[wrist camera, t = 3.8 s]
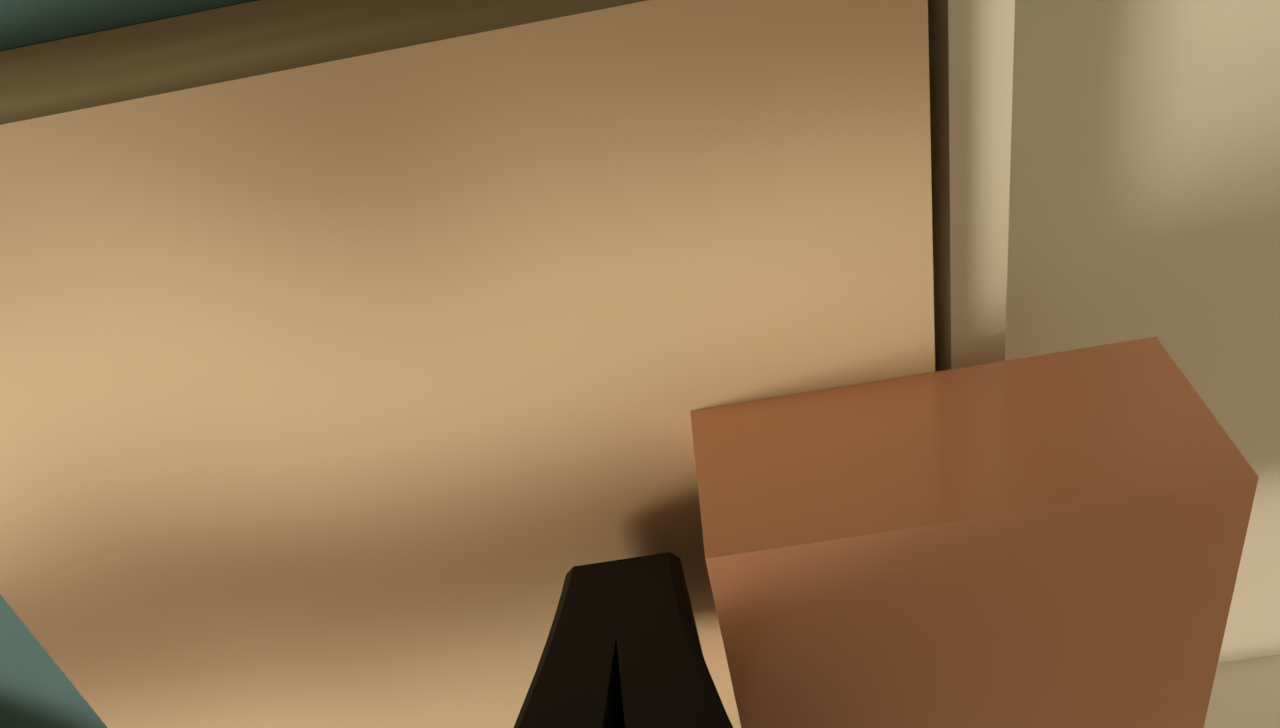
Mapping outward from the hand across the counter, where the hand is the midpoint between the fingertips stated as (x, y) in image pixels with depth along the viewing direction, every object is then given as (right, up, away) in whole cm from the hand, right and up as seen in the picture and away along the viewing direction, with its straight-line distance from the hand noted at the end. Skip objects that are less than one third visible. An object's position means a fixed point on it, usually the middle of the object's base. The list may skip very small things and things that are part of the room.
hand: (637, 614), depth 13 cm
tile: (+4, +1, 0) cm, 4 cm away
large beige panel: (-2, +2, +3) cm, 4 cm away
